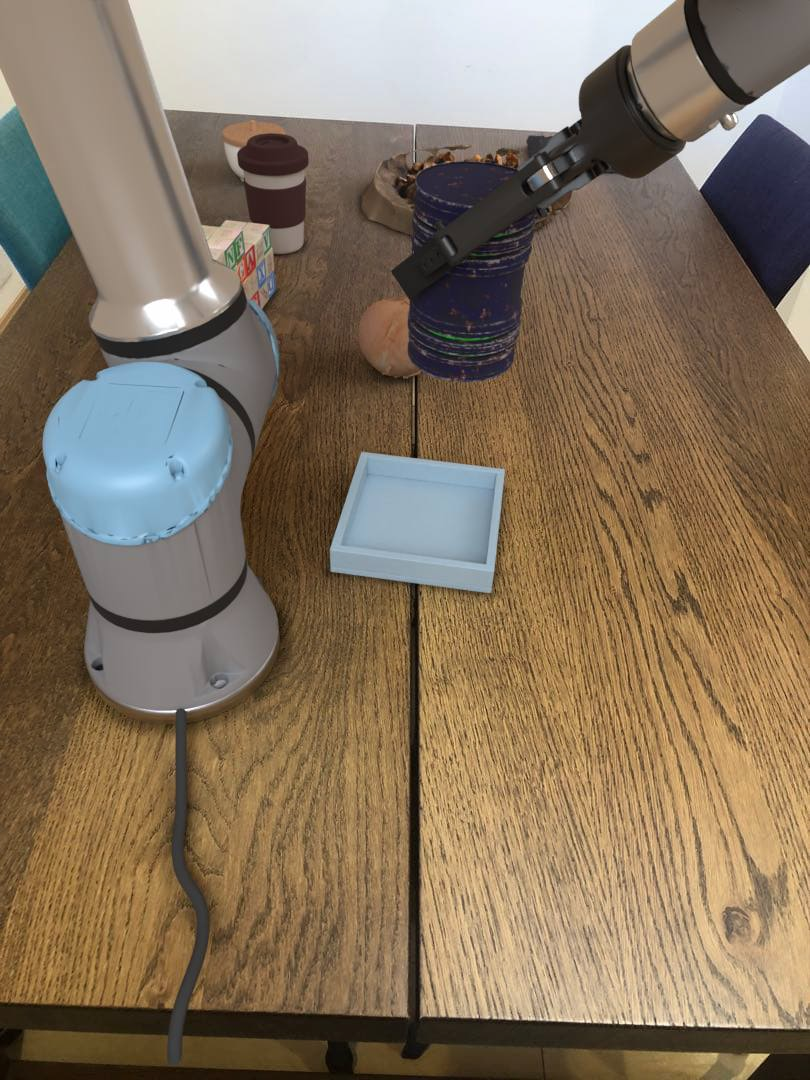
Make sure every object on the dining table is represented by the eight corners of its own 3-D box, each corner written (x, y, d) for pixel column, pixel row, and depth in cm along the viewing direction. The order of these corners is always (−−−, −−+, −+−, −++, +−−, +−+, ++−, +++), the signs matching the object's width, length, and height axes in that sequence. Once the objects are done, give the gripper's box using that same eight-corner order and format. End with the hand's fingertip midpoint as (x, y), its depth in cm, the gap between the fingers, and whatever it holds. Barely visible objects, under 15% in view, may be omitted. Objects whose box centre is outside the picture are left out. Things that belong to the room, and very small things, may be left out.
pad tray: (490, 593, 73) (494, 571, 71) (330, 571, 74) (329, 549, 72) (501, 490, 83) (505, 468, 81) (361, 472, 85) (361, 451, 83)
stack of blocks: (234, 285, 114) (223, 195, 106) (277, 291, 113) (269, 201, 105) (168, 363, 99) (150, 265, 90) (217, 370, 98) (203, 272, 89)
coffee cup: (320, 254, 122) (316, 148, 112) (255, 263, 119) (245, 155, 109) (301, 228, 129) (296, 126, 118) (239, 236, 126) (228, 132, 116)
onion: (421, 381, 103) (460, 312, 98) (402, 403, 95) (444, 328, 90) (357, 342, 103) (393, 270, 98) (332, 360, 95) (370, 283, 90)
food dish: (563, 181, 150) (572, 137, 145) (570, 262, 126) (581, 212, 121) (375, 161, 151) (376, 116, 146) (347, 237, 127) (348, 187, 122)
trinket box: (216, 184, 141) (209, 126, 135) (243, 164, 148) (237, 107, 142) (273, 193, 139) (269, 134, 132) (297, 172, 146) (294, 115, 140)
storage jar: (390, 335, 75) (395, 166, 65) (486, 319, 78) (505, 155, 68) (432, 391, 69) (444, 214, 59) (535, 372, 72) (564, 199, 61)
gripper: (620, 197, 46) (386, 353, 63) (741, 107, 60) (522, 255, 77) (551, 75, 45) (330, 269, 62) (691, 12, 59) (480, 184, 76)
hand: (437, 261), depth 69 cm, fingers closed on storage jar, 10 cm apart
